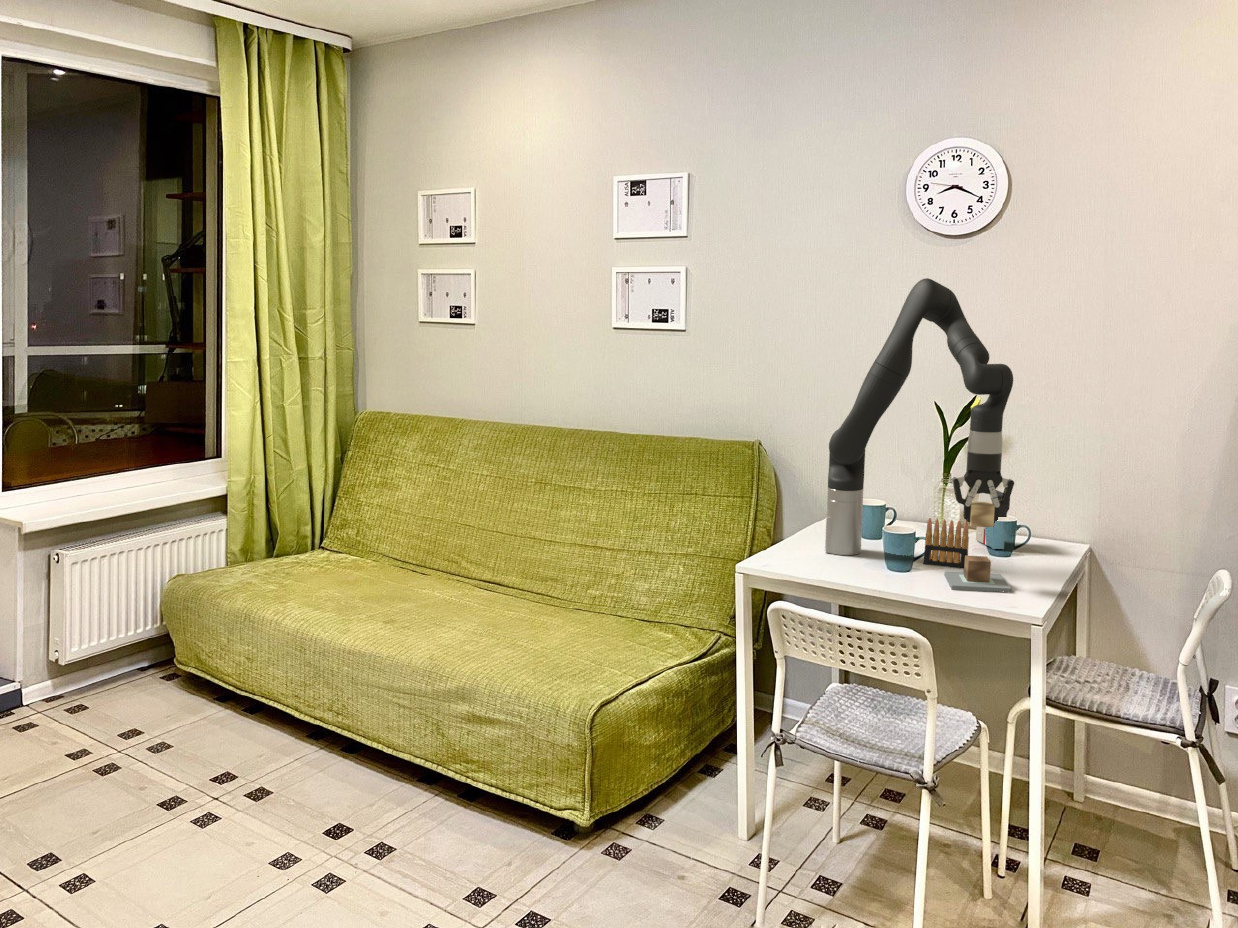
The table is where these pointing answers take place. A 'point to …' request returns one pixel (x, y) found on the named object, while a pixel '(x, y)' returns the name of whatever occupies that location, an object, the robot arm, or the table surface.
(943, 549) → the ammunition clip
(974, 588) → the baseplate
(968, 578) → the walnut block
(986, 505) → the maple block
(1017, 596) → the table surface
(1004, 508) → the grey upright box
